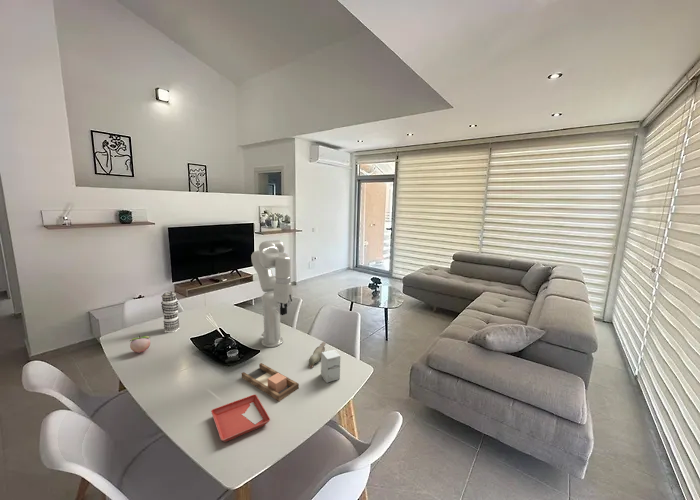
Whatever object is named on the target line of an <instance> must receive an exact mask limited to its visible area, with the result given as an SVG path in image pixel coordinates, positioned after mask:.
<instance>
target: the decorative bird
mask: <svg viewBox="0 0 700 500" xmlns="http://www.w3.org/2000/svg"><path fill="white" fill-rule="evenodd" d="M326 344H327V342H325V341H323V342H321V343H320V345H319V346H317V347H316V348H315V349H314V351H313V352H312V354H311V355H310V357H309V359H308V365H309V368H310V369H312V368H313V367H314V365H315V364H317V363H319V362H321V352H325V351H326V347H325V346H326Z"/></svg>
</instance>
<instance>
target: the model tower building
mask: <svg viewBox="0 0 700 500" xmlns="http://www.w3.org/2000/svg"><path fill="white" fill-rule="evenodd" d="M161 298H162V300H161V302H160V304H161V310H162V315H163V321H162V322H163V327H164V328H163V330H166V332H171V333H175V332H177V330H178V329H179V330H180V322H179V319H180V318H179V315H178V313H179V306H178V305H179V300H177V299H178V298H177V293H175V292H174V291H167V292H164V293H163V294H162V295H161ZM179 330H178V331H179ZM174 331H175V332H174ZM166 332H165V333H166Z"/></svg>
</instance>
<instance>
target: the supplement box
mask: <svg viewBox="0 0 700 500" xmlns="http://www.w3.org/2000/svg"><path fill="white" fill-rule="evenodd" d="M320 375H321V377H322V379H323V380H324V381H325V383H326V384H327V383H330V382H333V381H337V380H340V379H341V354H339V352H338V351H337V350H336V349H330V350H325V352H321V360H320Z"/></svg>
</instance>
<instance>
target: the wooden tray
mask: <svg viewBox="0 0 700 500" xmlns="http://www.w3.org/2000/svg"><path fill="white" fill-rule="evenodd" d="M276 373H279V374H281V375H283V374H282V373H280V372H278V371H277V370H275V369H273V368H271V367H270V366H268V365H266V364H264V363H263V362H261V363H259V368H257V369H255V370H253V371H252V372H250V373H246V372H245V371H243V372H242V373H241V378H242V379H243V380H245V381H246V382H248V383H249V384H250V385H252V386H253V387H256V388H257V389H259V390H260V391H262V392H263V393H265V394H267V395H268V396H270V397H271V398H273V399H274V400H276V401H278V402H281V401H283V400H284V399H285V398H287V397H289V396H290V395H291V394H292V393H295V392H296V391H298V389H299V387H300V385H299V382H296V381H294V380H293V379H291V378H289V377H288V376H285V374H284V375H283V376H285V377H287V387H286V388H285V389H283V390H282V391H280V392H279V393H277V392H275V391H274V390H272V389H271V388H269V387H268V378H270V377H271V376H273V375H275V374H276Z"/></svg>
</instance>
